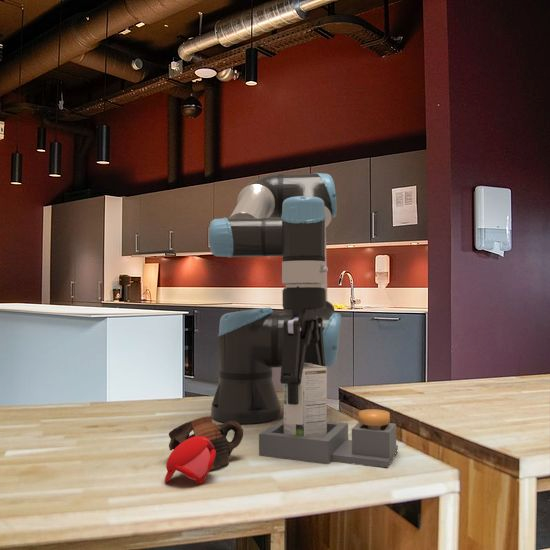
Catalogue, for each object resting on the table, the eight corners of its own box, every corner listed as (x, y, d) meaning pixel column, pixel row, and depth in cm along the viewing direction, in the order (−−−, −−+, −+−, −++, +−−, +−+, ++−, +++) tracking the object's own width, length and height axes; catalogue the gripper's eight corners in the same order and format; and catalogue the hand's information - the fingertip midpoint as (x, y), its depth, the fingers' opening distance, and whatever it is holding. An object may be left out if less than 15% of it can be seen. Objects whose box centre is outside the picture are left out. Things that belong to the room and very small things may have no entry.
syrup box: (282, 447, 92) (281, 363, 92) (311, 442, 94) (310, 361, 95) (298, 456, 87) (298, 367, 87) (328, 451, 89) (328, 365, 90)
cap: (213, 446, 81) (180, 428, 80) (225, 443, 76) (189, 423, 75) (189, 497, 77) (154, 479, 77) (200, 497, 72) (161, 477, 71)
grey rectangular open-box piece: (259, 455, 87) (258, 424, 87) (285, 436, 98) (285, 409, 98) (386, 471, 79) (385, 437, 79) (399, 448, 90) (398, 419, 90)
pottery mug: (184, 481, 77) (165, 428, 80) (177, 489, 85) (161, 440, 88) (257, 449, 82) (237, 400, 85) (245, 460, 90) (227, 414, 93)
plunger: (355, 449, 85) (355, 414, 85) (362, 440, 89) (362, 408, 89) (387, 452, 83) (386, 417, 83) (392, 444, 87) (392, 410, 87)
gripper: (303, 285, 80) (304, 435, 79) (341, 286, 100) (342, 405, 99) (258, 286, 83) (259, 430, 82) (304, 286, 103) (305, 402, 102)
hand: (304, 416), depth 91 cm, fingers open, 9 cm apart
